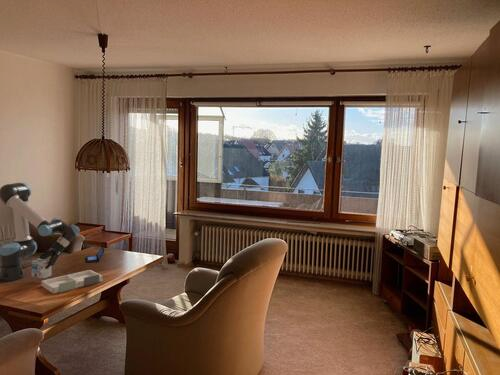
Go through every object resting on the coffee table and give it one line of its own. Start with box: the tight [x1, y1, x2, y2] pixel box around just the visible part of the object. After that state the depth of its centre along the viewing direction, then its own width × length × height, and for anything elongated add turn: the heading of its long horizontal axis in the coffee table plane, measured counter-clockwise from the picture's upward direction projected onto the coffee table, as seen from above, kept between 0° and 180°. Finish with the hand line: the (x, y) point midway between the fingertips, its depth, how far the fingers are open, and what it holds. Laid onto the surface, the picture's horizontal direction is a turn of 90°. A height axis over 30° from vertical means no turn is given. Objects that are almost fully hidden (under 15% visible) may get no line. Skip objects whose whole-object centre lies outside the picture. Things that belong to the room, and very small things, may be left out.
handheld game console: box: [85, 245, 105, 264], centre depth 317 cm, size 16×13×9 cm
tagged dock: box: [41, 269, 104, 294], centre depth 261 cm, size 33×20×6 cm, turn 138°
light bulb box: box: [31, 258, 52, 279], centre depth 264 cm, size 11×7×11 cm, turn 76°
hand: (37, 270), depth 262 cm, fingers closed on light bulb box, 12 cm apart
